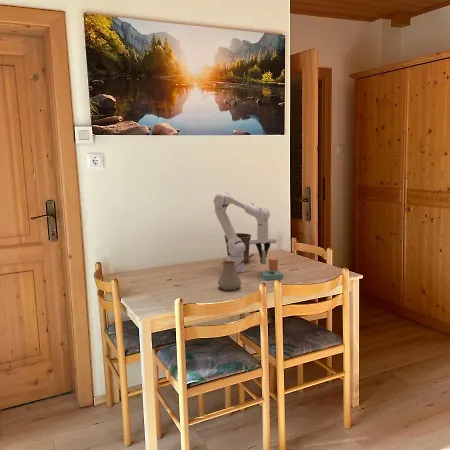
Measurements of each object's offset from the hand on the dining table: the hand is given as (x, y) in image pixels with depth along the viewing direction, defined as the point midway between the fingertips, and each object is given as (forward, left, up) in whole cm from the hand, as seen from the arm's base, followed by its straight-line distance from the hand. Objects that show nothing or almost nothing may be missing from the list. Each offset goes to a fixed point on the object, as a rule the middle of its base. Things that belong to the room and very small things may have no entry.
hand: (263, 256), depth 249 cm
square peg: (+7, +4, -10) cm, 12 cm away
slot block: (+3, -8, -10) cm, 13 cm away
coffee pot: (-17, -19, -10) cm, 28 cm away
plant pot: (-8, +30, -10) cm, 33 cm away
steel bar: (0, 0, -4) cm, 4 cm away
